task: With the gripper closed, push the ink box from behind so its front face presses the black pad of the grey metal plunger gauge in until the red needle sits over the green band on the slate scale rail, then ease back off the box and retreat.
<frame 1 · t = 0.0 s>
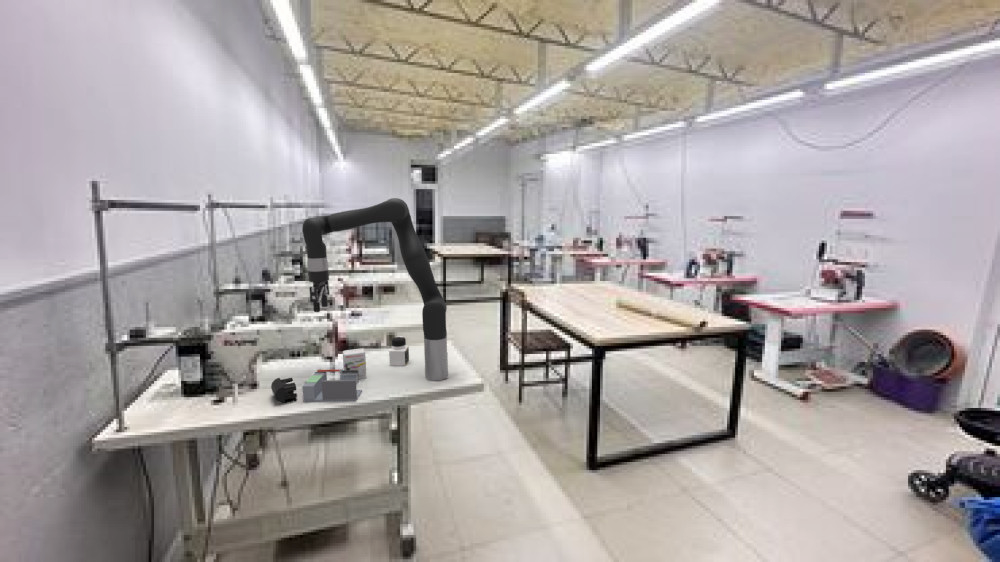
hand: (321, 309, 171), 29 cm above the table, fingers open, 8 cm apart
plunger: (337, 376, 168), point 4 cm above the table, slide at 0.0 cm
medicine bottle: (399, 363, 194), on the table
gauge body: (344, 393, 163), on the table
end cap: (284, 399, 159), on the table
ink box: (355, 378, 177), on the table
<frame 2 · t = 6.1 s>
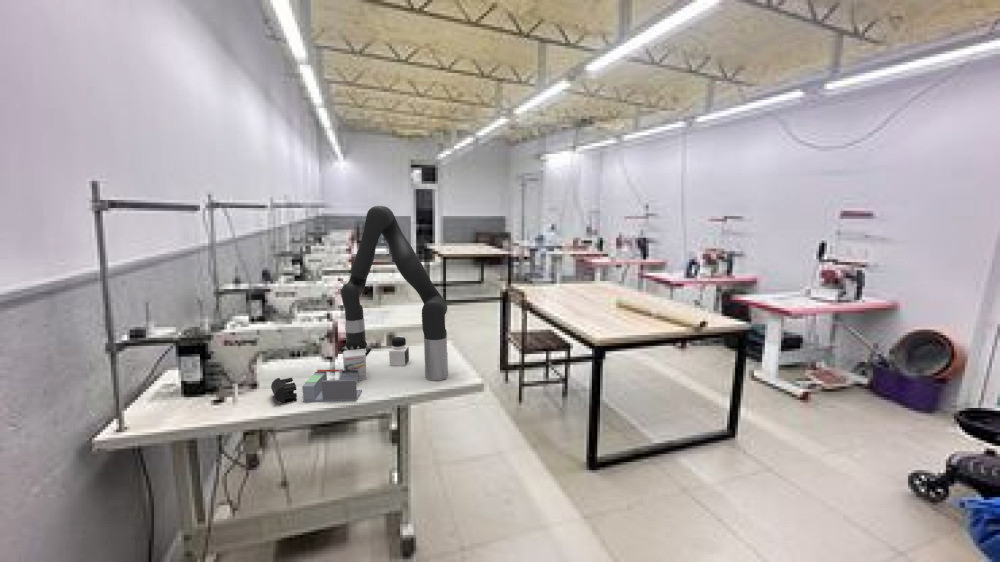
hand: (357, 369, 180), 3 cm above the table, fingers closed
ink box: (355, 378, 177), on the table, touching gripper, hand
everything else where it was.
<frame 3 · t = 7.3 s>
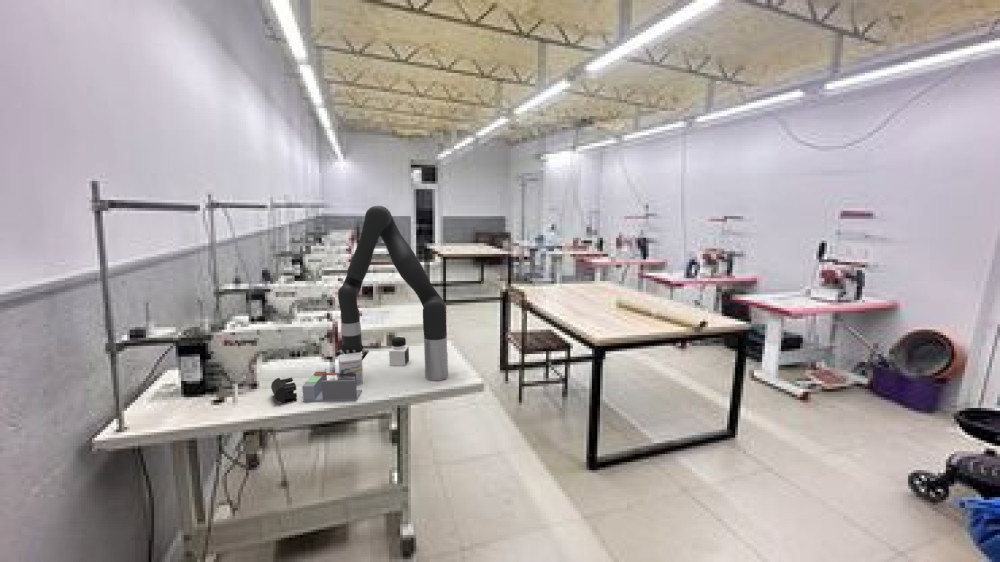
hand: (353, 373, 175), 3 cm above the table, fingers closed
plunger: (335, 380, 165), point 4 cm above the table, slide at 3.4 cm, touching ink box
ink box: (351, 382, 172), on the table, touching gripper, hand, plunger
everything else where it was.
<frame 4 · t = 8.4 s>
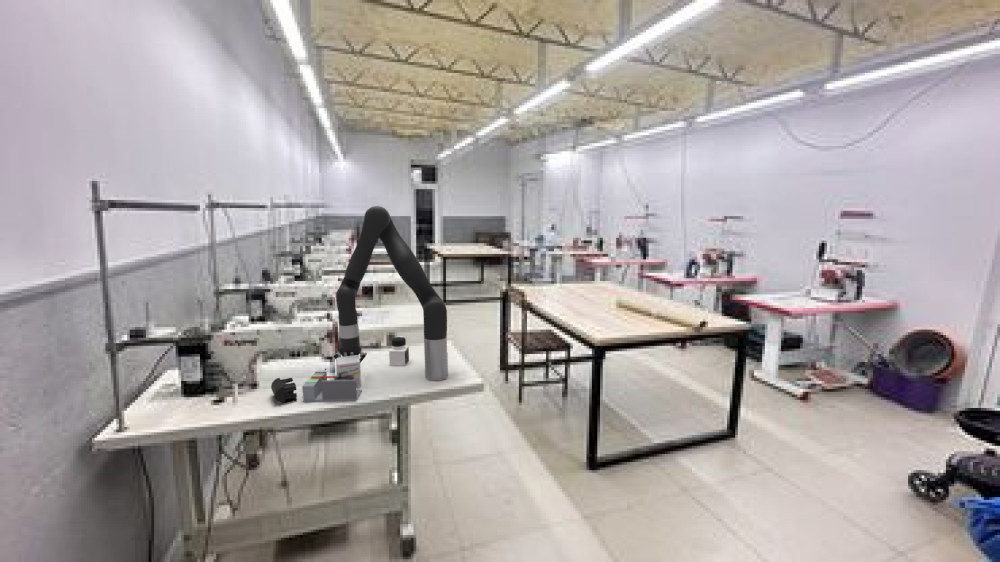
hand: (351, 375, 172), 3 cm above the table, fingers closed
plunger: (332, 383, 162), point 4 cm above the table, slide at 6.3 cm
ink box: (349, 385, 169), on the table, touching gripper, hand
everything else where it was.
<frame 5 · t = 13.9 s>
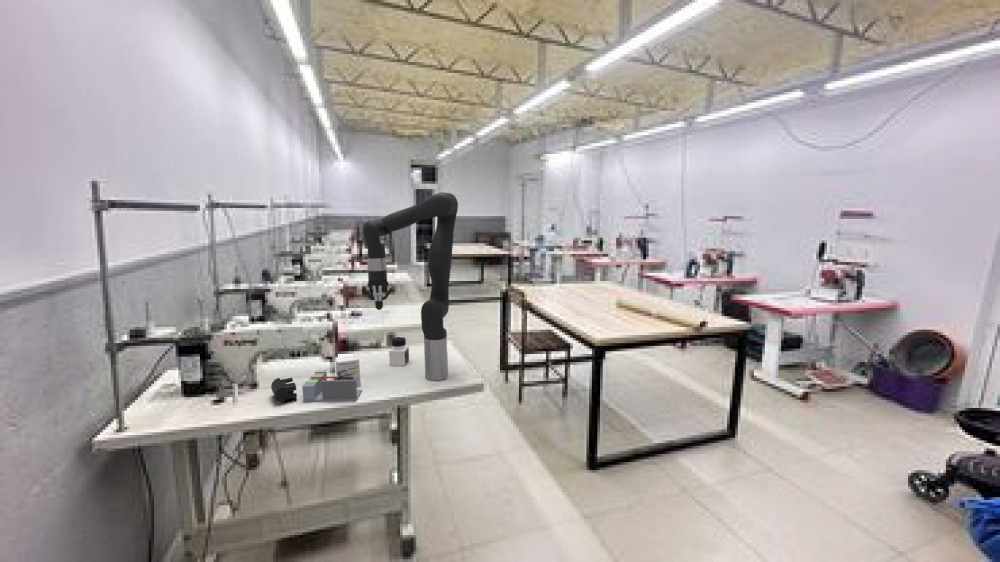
hand: (379, 309, 181), 27 cm above the table, fingers closed
plunger: (332, 384, 162), point 4 cm above the table, slide at 6.7 cm
ink box: (349, 387, 169), on the table
everything else where it was.
at the end: plunger slide at 6.7 cm; ink box moved 7.9 cm from its start; ink box tilted 0° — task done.
